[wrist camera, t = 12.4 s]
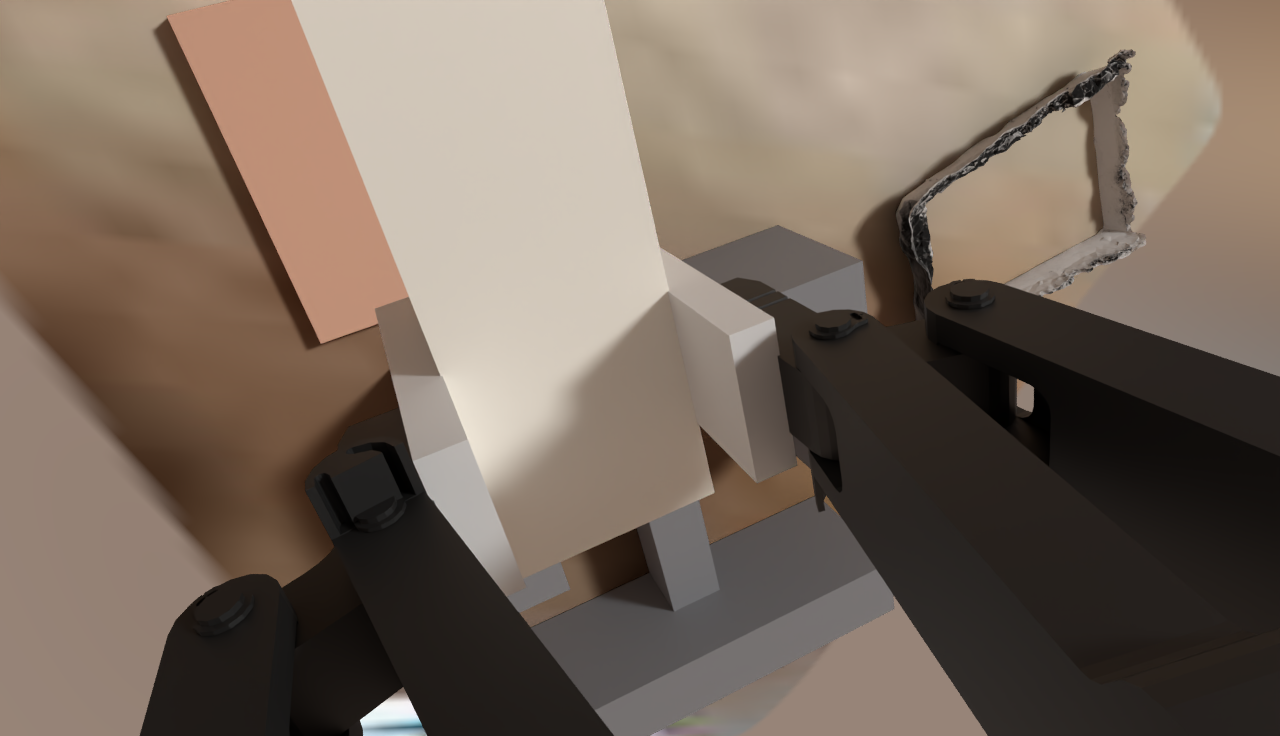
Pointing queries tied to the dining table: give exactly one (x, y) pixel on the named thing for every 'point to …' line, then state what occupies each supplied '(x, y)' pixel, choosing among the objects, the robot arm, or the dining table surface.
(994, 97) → the dining table surface
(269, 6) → the terracotta mat
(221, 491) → the dining table surface
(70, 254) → the dining table surface
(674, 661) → the pocket plate
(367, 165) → the cream bar
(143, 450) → the dining table surface
